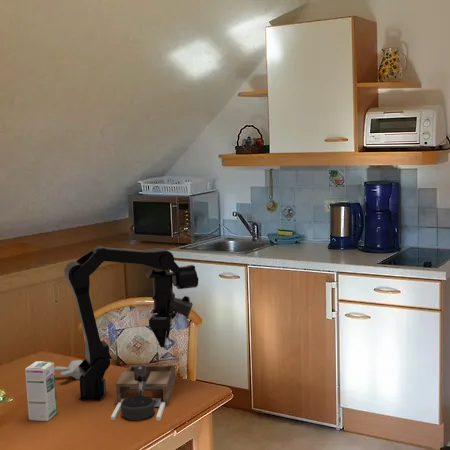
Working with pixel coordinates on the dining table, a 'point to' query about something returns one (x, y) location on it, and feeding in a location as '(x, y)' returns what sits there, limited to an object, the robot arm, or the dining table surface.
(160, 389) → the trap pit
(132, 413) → the smart speaker
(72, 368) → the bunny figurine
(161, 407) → the rails
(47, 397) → the syrup box
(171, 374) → the tunnel
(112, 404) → the dining table surface
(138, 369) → the slider
